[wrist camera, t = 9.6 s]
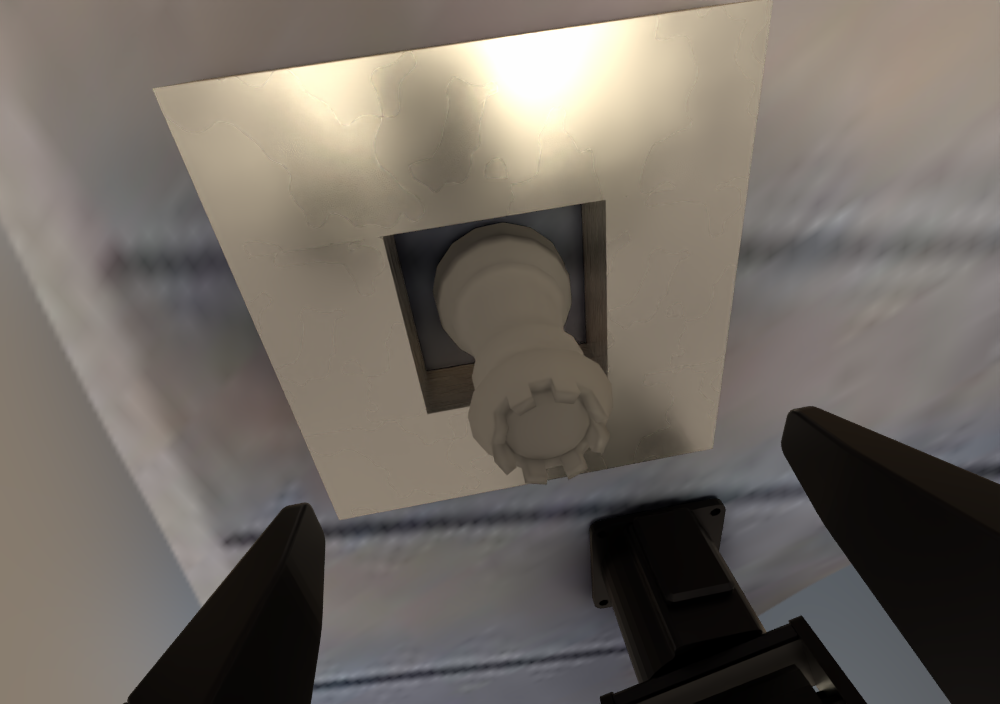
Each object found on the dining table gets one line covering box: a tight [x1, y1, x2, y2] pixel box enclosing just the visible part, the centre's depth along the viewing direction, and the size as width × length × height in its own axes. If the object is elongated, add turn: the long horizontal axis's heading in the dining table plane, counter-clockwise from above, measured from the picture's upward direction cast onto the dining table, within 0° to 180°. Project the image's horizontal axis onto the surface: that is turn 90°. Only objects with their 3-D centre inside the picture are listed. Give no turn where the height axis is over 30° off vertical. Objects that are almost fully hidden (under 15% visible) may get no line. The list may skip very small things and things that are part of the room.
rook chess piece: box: [433, 223, 613, 485], centre depth 14 cm, size 4×4×8 cm
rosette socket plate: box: [153, 0, 773, 520], centre depth 16 cm, size 14×14×2 cm
